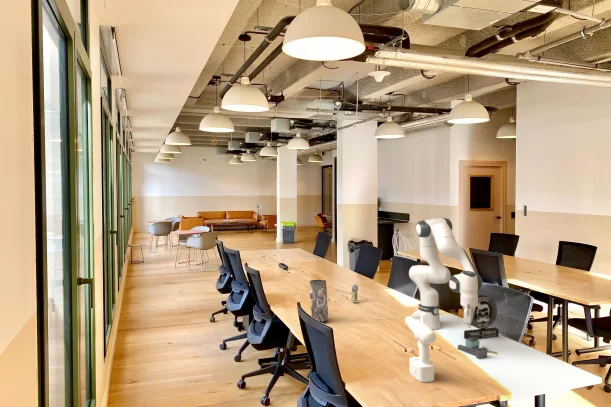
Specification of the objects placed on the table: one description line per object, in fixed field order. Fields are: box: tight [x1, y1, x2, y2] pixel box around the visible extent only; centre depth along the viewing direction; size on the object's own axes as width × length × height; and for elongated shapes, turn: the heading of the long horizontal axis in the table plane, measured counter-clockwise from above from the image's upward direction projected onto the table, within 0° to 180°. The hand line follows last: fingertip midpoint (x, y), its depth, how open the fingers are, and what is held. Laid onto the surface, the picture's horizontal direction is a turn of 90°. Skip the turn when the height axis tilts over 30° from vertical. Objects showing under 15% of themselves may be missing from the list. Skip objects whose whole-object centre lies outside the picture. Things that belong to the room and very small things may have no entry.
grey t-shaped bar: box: [457, 344, 488, 360], centre depth 239 cm, size 16×6×6 cm, turn 29°
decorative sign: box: [463, 294, 500, 340], centre depth 265 cm, size 22×3×25 cm, turn 105°
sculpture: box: [309, 279, 329, 323], centre depth 301 cm, size 12×12×28 cm
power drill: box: [404, 316, 437, 383], centre depth 212 cm, size 8×24×25 cm, turn 13°
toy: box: [337, 282, 367, 302], centre depth 354 cm, size 10×26×15 cm, turn 103°
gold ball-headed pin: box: [487, 349, 498, 355], centre depth 240 cm, size 7×2×1 cm, turn 54°
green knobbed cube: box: [465, 338, 480, 349], centre depth 248 cm, size 5×5×5 cm
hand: (469, 327), depth 243 cm, fingers closed
